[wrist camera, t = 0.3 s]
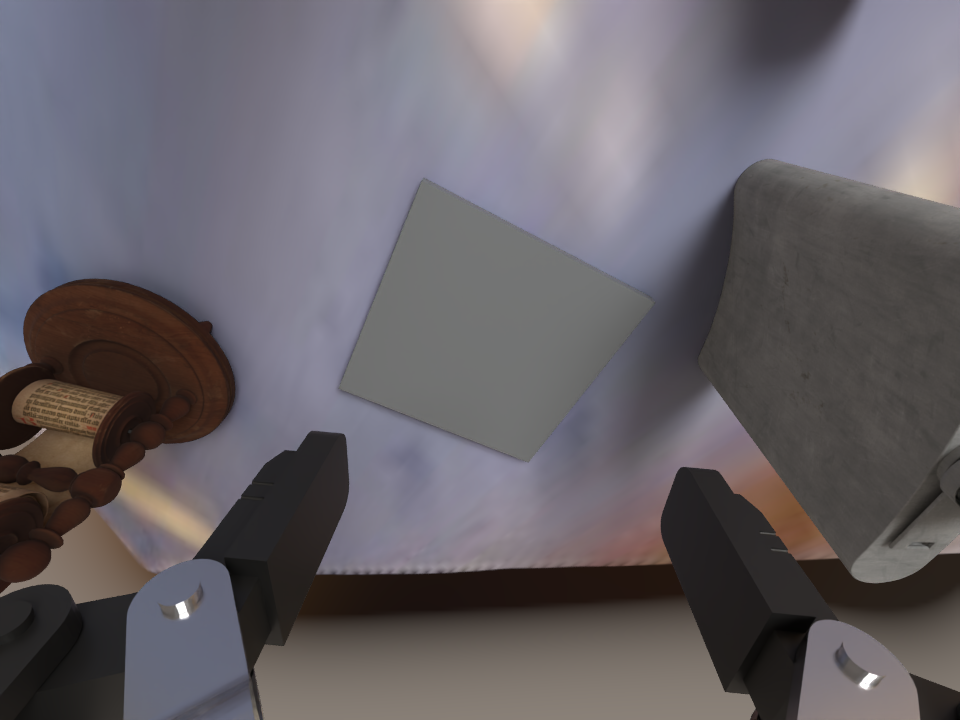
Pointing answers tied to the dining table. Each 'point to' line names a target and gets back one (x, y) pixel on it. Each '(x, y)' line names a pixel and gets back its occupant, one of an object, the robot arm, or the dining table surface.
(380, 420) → the dining table surface
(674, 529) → the robot arm
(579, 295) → the mat
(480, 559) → the dining table surface
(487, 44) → the dining table surface
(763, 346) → the hip flask
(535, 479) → the dining table surface
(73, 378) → the scroll
